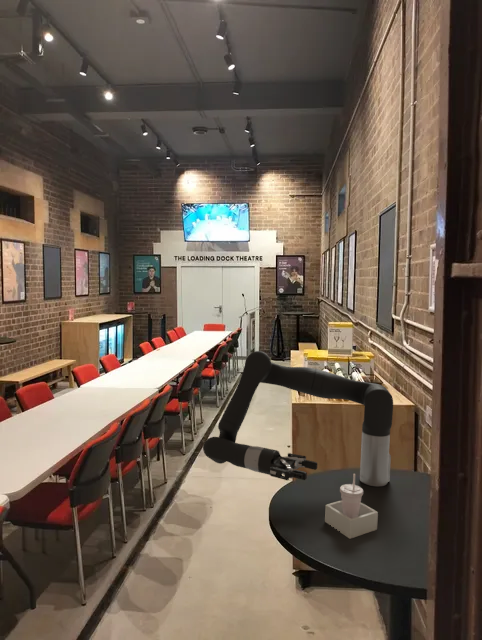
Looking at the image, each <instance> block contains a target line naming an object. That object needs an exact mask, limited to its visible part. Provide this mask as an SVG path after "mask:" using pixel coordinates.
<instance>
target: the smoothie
mask: <svg viewBox="0 0 482 640" xmlns="http://www.w3.org/2000/svg"><path fill="white" fill-rule="evenodd" d="M352 475H353V476H352V483H346V484H342V485H341V486H340V487H339V493H340V496H341V500H342V510H343V514H344V515H346V516H347V517H349V518H350V519H352V518H355V517H358V514H359V508H360V503H362V502H361V501H362V496H363V495H364V489H363V488H362V487H361V486H359V485H356V473H352Z"/></svg>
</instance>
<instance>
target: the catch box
mask: <svg viewBox="0 0 482 640" xmlns="http://www.w3.org/2000/svg"><path fill="white" fill-rule="evenodd" d="M324 509H325V513H324V514H325V516H324V522H325V523H326V524H327V525H329V526H330V525H331V527H332V528H333V527H334V528H333V529H334V530H336V529H337V530H336V531H338V532H339V531H340V532H339V533H340V534H342V535H343V536H345V537H346V538H348V539H354V538H356V537H359V536H362V535H364V534H368V533H371V532H374V531H377V530H378V520H379V519H378V518H379V517H378V516H379V514H378V513H379V512H378V511H377V510H375V509H373V508H372V507H370V506H368V505H366V504H365V503H364V502H361V503H360V508H359V514H358V517H355V518H352V519H350V518H349V517H347V516H346V515H344V514H343V510H342V499H341V500H338V501H334V502H331V503H327V504H325V508H324Z"/></svg>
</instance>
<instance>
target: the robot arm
mask: <svg viewBox="0 0 482 640" xmlns="http://www.w3.org/2000/svg"><path fill="white" fill-rule="evenodd" d="M260 383H261V384H269V385H274V386H279V387H283V388H286V389H288V390H289V389H290V390H292V391H296V392H300V393H302V394H306V395H309V396H312V397H317V398H321V399H327V400H328V399H329V400H347V401H351V402H354V403H356V404H359V405H362V406H363V407H364V412H363V422H362V424H361V425H362V426H361V427H362V429H361V446H360V448H361V449H360V467H359V481H360V482H361V483H362V484H365V485H367V486H371V487H384V486H386V485H388V482H390V480H391V477H390V476H391V463H392V462H391V460H392V455H391V454H390V439H391V437H390V436H391V428H392V426H393V416H394V398H393V395H392V394H391V393H390V391H389V390H388V388H386V386H384V385H382V384H378V383H372V382H365V381H360V380H354V379H350V378H348V377H344V376H341V375H339V374H335V373H332V372H328V371H326V370H321V369H318V368H312V367H308V366H286V365H282V364H279V363H275V362H272V361H271V358H270V356H269V355H268V354H267V353H266V352H264V351H262V350H257V351H253V352H251V353H250V354H249V355H248V356H247V357H246V358H245V362H244V366H243V371H242V374H241V377H240V379H239V381H238V384H237V386H236V389H235V390H234V393H233V394H232V397H231V399H230V400H229V401H228V404H227V406H226V408H225V410H224V412H223V414H222V415H221V418H220V420H219V422H218V424H217V428H218V430H219V435H218V436H211V437H209V438H207V439H206V440H205V441H204V442H203V446H202V450H203V453H204V455H205V456H206V457H207V458H209V459H210V460H211V461H213V462H215V463H217V464H225V463H227V462H228V463H230V464H231V465H233V466H236V467H238V468H239V467H240V468H243V469H248V470H250V471H253V472H257V473H259V474H260V473H261V474H264V475H267V476H268V475H269V476H270V477H273V478H277V479H279V480H284V481H289V480H290V479H299V480H302V481H306V480H307V478H308V477H307V476H308V473H307V472H306V471H303V470H299V468H305V469H308V470H313V471H316V470H317V469H318V462H316V461H312V460H308V459H307V456H306V455H301V454H296V453H291V452H290V453H289V452H288V453H287V456H282V455H281V453H280V451H279V450H277V449H272V448H267V447H262V446H257V445H256V446H255V445H248V444H245V443H237V442H236V440H237V437H238V436H237V435H238V432H239V430H240V429H241V427H242V424H243V422H244V420H245V418H246V415H247V413H248V410H249V409H250V405H251V403H252V400H253V398H254V396H255V395H254V394H255V393H256V391H257V388H258V387H259V385H260Z"/></svg>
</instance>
